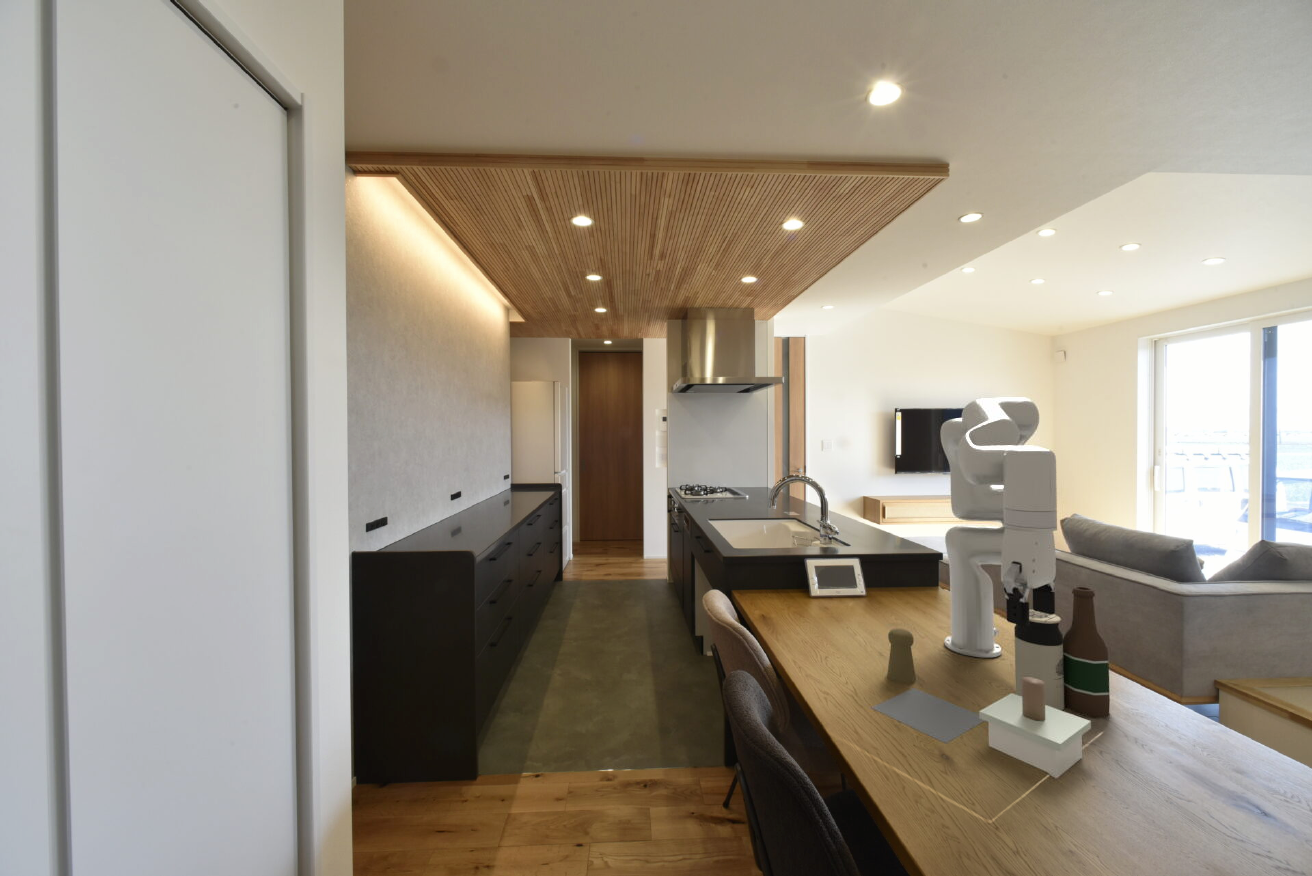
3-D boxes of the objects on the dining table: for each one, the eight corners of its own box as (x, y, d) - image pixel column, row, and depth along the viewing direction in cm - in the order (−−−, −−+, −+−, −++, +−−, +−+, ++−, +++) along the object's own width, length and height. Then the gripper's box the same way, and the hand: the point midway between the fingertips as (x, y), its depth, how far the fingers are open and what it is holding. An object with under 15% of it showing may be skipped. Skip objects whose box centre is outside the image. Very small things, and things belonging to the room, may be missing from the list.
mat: (914, 689, 113) (914, 687, 113) (988, 720, 100) (988, 718, 100) (871, 709, 105) (870, 707, 105) (946, 745, 92) (945, 743, 92)
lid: (1011, 699, 98) (1011, 660, 98) (1090, 728, 88) (1090, 685, 88) (979, 718, 92) (978, 677, 92) (1060, 751, 82) (1059, 705, 82)
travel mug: (1007, 698, 108) (1005, 612, 109) (1031, 690, 112) (1029, 606, 112) (1048, 716, 101) (1046, 623, 101) (1073, 708, 104) (1071, 618, 104)
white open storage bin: (1015, 730, 97) (1015, 703, 97) (1082, 757, 88) (1081, 727, 88) (988, 747, 91) (988, 719, 91) (1056, 778, 83) (1055, 746, 83)
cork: (919, 686, 114) (918, 636, 114) (890, 684, 116) (889, 634, 116) (912, 674, 120) (911, 626, 120) (884, 672, 121) (883, 625, 122)
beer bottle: (1100, 702, 106) (1097, 584, 107) (1120, 721, 99) (1117, 595, 99) (1054, 696, 109) (1052, 581, 109) (1070, 715, 101) (1068, 592, 102)
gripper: (1028, 512, 98) (1029, 603, 98) (981, 521, 89) (982, 622, 89) (1076, 517, 92) (1078, 614, 92) (1031, 528, 82) (1033, 636, 82)
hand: (1031, 618), depth 90 cm, fingers open, 9 cm apart
